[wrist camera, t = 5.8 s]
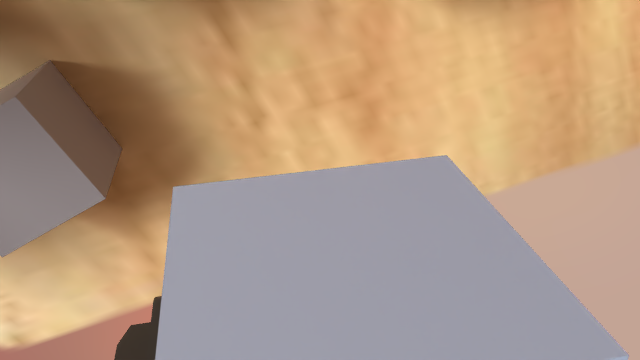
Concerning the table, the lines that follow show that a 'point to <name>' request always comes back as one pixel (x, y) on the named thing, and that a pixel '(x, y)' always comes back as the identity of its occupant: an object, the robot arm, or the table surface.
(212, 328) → the slate blue block
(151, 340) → the robot arm
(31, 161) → the charcoal block
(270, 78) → the table surface
